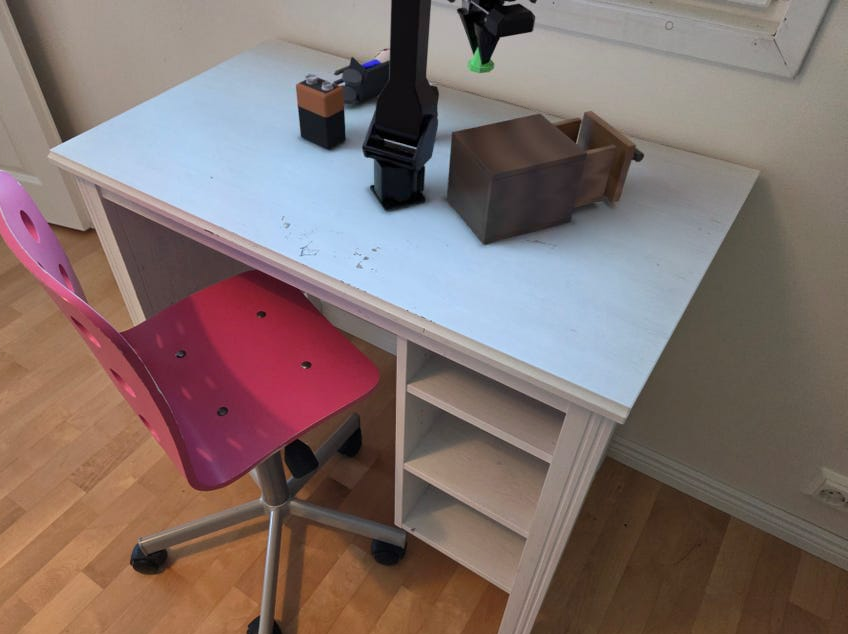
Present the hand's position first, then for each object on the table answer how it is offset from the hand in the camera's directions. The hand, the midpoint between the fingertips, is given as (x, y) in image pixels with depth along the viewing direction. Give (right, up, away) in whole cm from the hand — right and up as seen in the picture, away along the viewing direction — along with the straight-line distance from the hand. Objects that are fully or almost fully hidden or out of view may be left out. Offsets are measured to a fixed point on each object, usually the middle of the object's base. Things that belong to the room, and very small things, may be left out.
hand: (481, 61), depth 106 cm
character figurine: (-18, 0, +13) cm, 22 cm away
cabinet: (+1, -27, -13) cm, 30 cm away
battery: (-26, -12, +2) cm, 29 cm away
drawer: (+12, -24, -11) cm, 29 cm away
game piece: (0, -1, +1) cm, 1 cm away
